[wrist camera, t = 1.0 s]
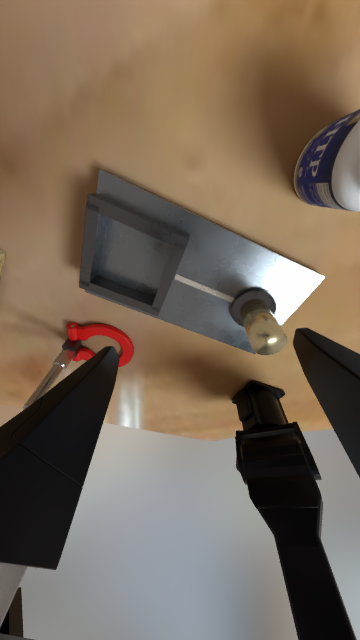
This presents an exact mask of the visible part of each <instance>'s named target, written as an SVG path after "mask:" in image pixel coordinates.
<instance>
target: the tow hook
mask: <svg viewBox="0 0 360 640" xmlns="http://www.w3.org/2000/svg"><path fill="white" fill-rule="evenodd" d="M67 331H68V339H67V340H66V341H65V343H64V344H63V345H62V348H63V350H62V351H61V353H60V354H59V355H58V356H57V358H56V359H55V360H54V362H53V367H52V368H51V369H50V371H49V372H48V373H47V375H46V376H45V378H44V379H43V380H42V382H41V383H40V384H39V386H38V387H37V388H36V390H35V391H34V393H33V394H32V395H31V397H30V398H29V399H28V401H27V402H26V403H25V405H24V406H23V409H24V410H25V409H26V408H27V407H28V406H30V405H31V404H32V403H34V402H35V401H36V400H38V399H39V398H40V397H41V396H44V394H45V393H47V392H48V391H49V389H50V388H51V386H52V385H53V383H54V382H55V380H56V379H57V377H58V376H59V374H60V373H61V371H62V370H64V369H66V367H67V366H68V364H69V363H70V361H71V360H72V359H73V361H80V360H81V359H83V360H87V361H88V360H89V359H90V358H91V357H93V356H94V355H95V354H94V353H93V352H92V351H91V350H90V349H87V348H82V343H81V340H87V339H88V338H90V337H91V336H95V335H104V336H108V337H111V338H113V339H114V340H116V341H117V342H118V343H119V344H120V345H121V347H122V349H123V354H122V355H121V356H119V359H120V360H119V366H118V367H121V366H123V365H125V364H127V363H128V362H129V361H130V360H131V358H132V356H133V353H134V347H133V344H132V341H131V340H130V339H129V337H128V336H127V335H126V334H125V333H124V332H122V331H120V330H119V329H117V328H115V327H112V326H109V325H104V324H91V325H88V326H85V327H82V326H78V324H77V323H69V324H68V325H67Z"/></svg>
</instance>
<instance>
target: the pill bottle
mask: <svg viewBox="0 0 360 640" xmlns="http://www.w3.org/2000/svg"><path fill="white" fill-rule="evenodd" d="M294 187H295V191H296V193H297V195H298V197H299V198H300V199H301V200H302V201H304V202H305V203H307V204H310V205H314V206H320V207H328V208H335V209H341V210H348V211H357V212H360V109H359V110H357V111H355V112H353V113H351V114H349V115H347V116H345V117H343V118H341V119H338V120H336V121H334V122H332V123H331V124H329V125H327V126H325V127H324V128H323V129H321V130H320V131H319V132H318V133H317V134H316V135H315V136H314V137H313V138H312V139H311V140H310V141H309V142H308V143H307V145H306V146H305V148H304V149H303V151H302V153H301V155H300V157H299V159H298V161H297V164H296V167H295V172H294Z"/></svg>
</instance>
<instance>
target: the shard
mask: <svg viewBox="0 0 360 640" xmlns="http://www.w3.org/2000/svg"><path fill="white" fill-rule="evenodd" d="M5 253H6V252H5V251H3V250H1V249H0V278H1V276H2V268H3V264H4V261H5Z"/></svg>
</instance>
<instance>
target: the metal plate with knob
mask: <svg viewBox="0 0 360 640" xmlns="http://www.w3.org/2000/svg"><path fill="white" fill-rule="evenodd" d="M324 278H325V277H324V276H323V275H321V274H320V273H318V272H316V271H314V270H312V269H310V268H307V267H305V266H303V265H301V264H299V263H297V262H295V261H293V260H291V259H289V258H287V257H285V256H282V255H280V254H278V253H276V252H274V251H272V250H270V249H268V248H266V247H264V246H262V245H260V244H257V243H255V242H253V241H251V240H249V239H247V238H245V237H243V236H241V235H239V234H237V233H235V232H232V231H230V230H228V229H226V228H224V227H222V226H220V225H218V224H216V223H214V222H212V221H209V220H207V219H205V218H203V217H201V216H199V215H197V214H195V213H193V212H191V211H189V210H187V209H184V208H182V207H180V206H178V205H176V204H174V203H172V202H170V201H168V200H166V199H164V198H162V197H159V196H157V195H155V194H153V193H151V192H149V191H147V190H145V189H143V188H141V187H139V186H137V185H134V184H132V183H130V182H128V181H126V180H124V179H122V178H120V177H118V176H116V175H114V174H112V173H109V172H107V171H105V170H101V169H99V173H98V182H97V191H96V194H88V195H87V206H86V217H85V227H84V238H83V249H82V260H81V271H80V282H79V288H82V289H85V292H87V293H90V294H93V295H95V296H98V297H101V298H103V299H106V300H109V301H112V302H114V303H117V304H120V305H122V306H125V307H128V308H131V309H133V310H136V311H139V312H142V313H144V314H147V315H150V316H152V317H155V318H158V319H161V320H163V321H166V322H169V323H171V324H174V325H177V326H180V327H182V328H185V329H188V330H191V331H193V332H196V333H199V334H201V335H204V336H207V337H210V338H212V339H215V340H218V341H220V342H223V343H226V344H229V345H231V346H234V347H237V348H240V349H242V350H245V351H248V352H250V353H253V354H255V353H258V354H261V355H271V354H274V353H277V352H279V351H280V350H282V349H283V348H284V347H285V345H286V343H287V336H286V335H285V333H284V331H283V330H282V328H281V327H280V326H281V325H282V324H283V323H284V322H285V321H286V320H287V318H288V317H289V316H290V315H291V314H292V313H293V312H294V311H295V310H296V309H297V308H298V307H299V305H300V304H301V303H302V302H303V301H304V300H305V299H306V298H307V297H308V296H309V295H310V293H311V292H312V291H313V290H314V289H315V288H316V287H317V286H318V285H319V284H320V283H321V282H322V280H323V279H324Z"/></svg>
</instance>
